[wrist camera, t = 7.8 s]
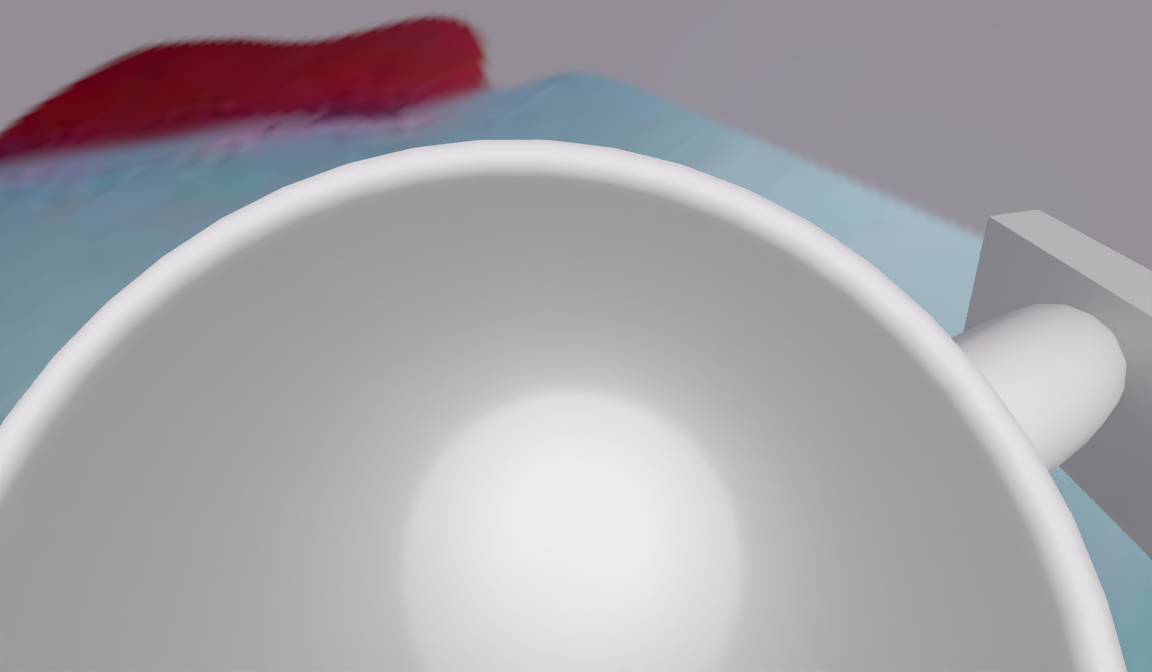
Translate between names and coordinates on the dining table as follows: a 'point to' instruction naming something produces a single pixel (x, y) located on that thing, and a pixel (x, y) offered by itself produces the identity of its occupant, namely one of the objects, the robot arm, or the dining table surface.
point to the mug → (547, 443)
